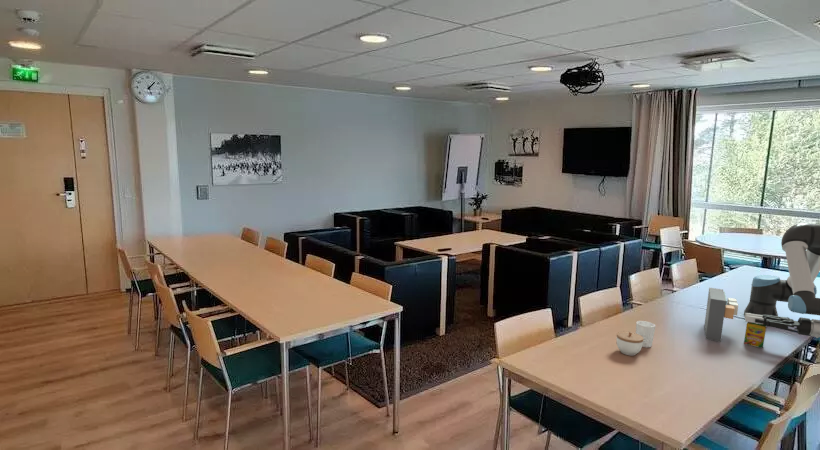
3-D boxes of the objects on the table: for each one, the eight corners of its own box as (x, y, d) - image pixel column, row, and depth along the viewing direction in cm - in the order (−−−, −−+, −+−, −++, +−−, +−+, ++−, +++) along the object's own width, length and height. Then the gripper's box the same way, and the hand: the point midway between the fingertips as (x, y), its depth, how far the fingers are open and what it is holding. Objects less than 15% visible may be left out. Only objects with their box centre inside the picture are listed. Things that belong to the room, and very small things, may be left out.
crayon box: (743, 344, 221) (746, 320, 219) (743, 342, 224) (747, 318, 222) (763, 348, 217) (766, 324, 215) (763, 346, 219) (766, 322, 217)
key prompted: (723, 314, 227) (724, 304, 226) (732, 316, 225) (733, 306, 224) (724, 317, 223) (725, 307, 222) (733, 319, 221) (734, 308, 220)
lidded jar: (640, 349, 211) (642, 329, 210) (643, 359, 201) (645, 338, 200) (614, 346, 214) (616, 326, 213) (616, 355, 204) (618, 334, 203)
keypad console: (704, 324, 246) (709, 287, 243) (719, 327, 243) (724, 289, 240) (705, 339, 226) (710, 298, 223) (722, 342, 223) (727, 301, 220)
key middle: (727, 311, 232) (728, 301, 232) (736, 312, 231) (737, 302, 230) (728, 314, 228) (729, 304, 227) (737, 315, 226) (738, 305, 226)
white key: (726, 307, 239) (727, 297, 238) (734, 308, 237) (736, 298, 236) (727, 309, 234) (728, 300, 234) (735, 311, 233) (737, 301, 232)
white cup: (655, 348, 213) (657, 327, 211) (636, 347, 214) (638, 326, 213) (650, 342, 220) (652, 321, 219) (632, 340, 222) (634, 320, 220)
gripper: (812, 341, 202) (746, 330, 214) (804, 329, 216) (742, 319, 228) (815, 324, 201) (748, 314, 213) (807, 314, 215) (744, 304, 227)
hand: (745, 317), depth 220 cm, fingers open, 4 cm apart
